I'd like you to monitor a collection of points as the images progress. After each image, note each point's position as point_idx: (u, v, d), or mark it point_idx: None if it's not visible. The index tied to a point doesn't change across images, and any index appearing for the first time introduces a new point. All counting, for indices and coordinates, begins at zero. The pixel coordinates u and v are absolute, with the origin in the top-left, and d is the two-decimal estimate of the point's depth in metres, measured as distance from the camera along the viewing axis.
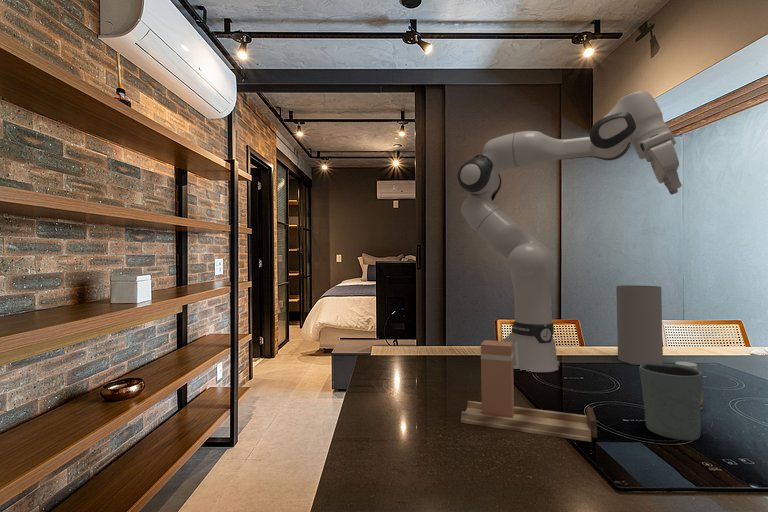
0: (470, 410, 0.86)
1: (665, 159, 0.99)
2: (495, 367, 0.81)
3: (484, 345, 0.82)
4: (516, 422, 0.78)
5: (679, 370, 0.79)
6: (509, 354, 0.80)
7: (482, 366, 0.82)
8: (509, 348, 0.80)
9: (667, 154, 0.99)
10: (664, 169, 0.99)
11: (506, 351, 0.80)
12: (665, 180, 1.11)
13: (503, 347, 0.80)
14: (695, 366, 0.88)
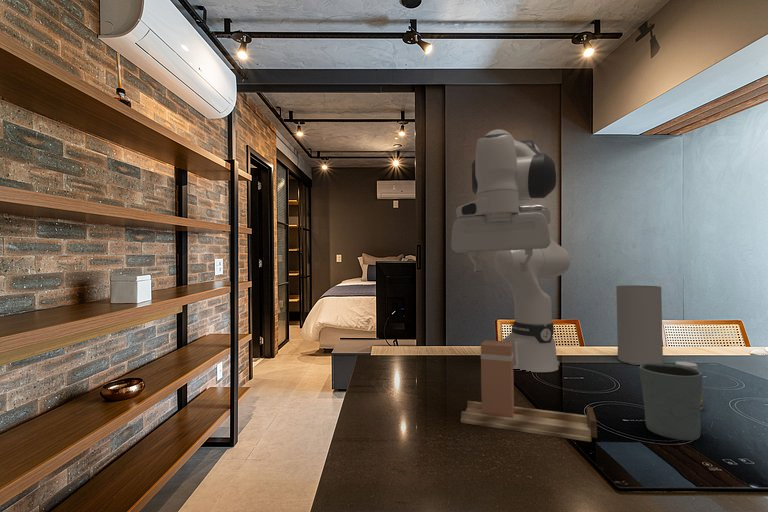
0: (470, 410, 0.86)
1: None
2: (495, 367, 0.81)
3: (484, 345, 0.82)
4: (516, 422, 0.78)
5: (679, 370, 0.79)
6: (509, 354, 0.80)
7: (482, 366, 0.82)
8: (509, 348, 0.80)
9: None
10: None
11: (506, 351, 0.80)
12: (525, 250, 0.83)
13: (503, 347, 0.80)
14: (695, 366, 0.88)
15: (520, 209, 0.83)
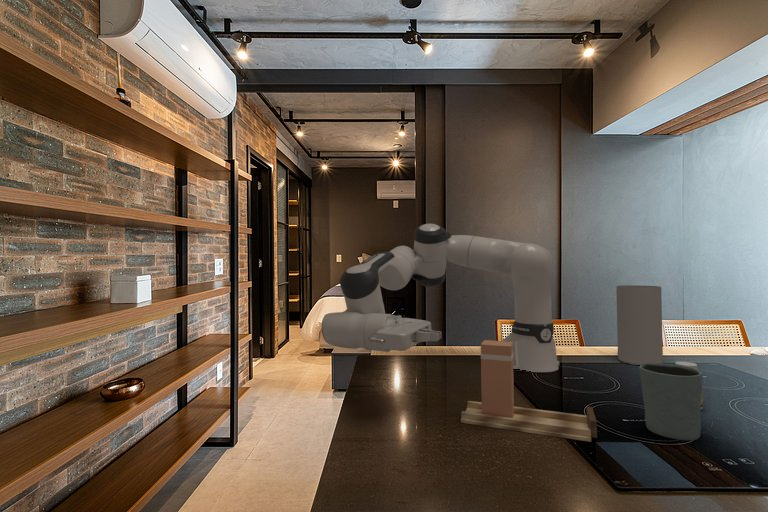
0: (470, 410, 0.86)
1: None
2: (495, 367, 0.81)
3: (484, 345, 0.82)
4: (516, 422, 0.78)
5: (679, 370, 0.79)
6: (509, 354, 0.80)
7: (482, 366, 0.82)
8: (509, 348, 0.80)
9: None
10: None
11: (506, 351, 0.80)
12: None
13: (503, 347, 0.80)
14: (695, 366, 0.88)
15: None
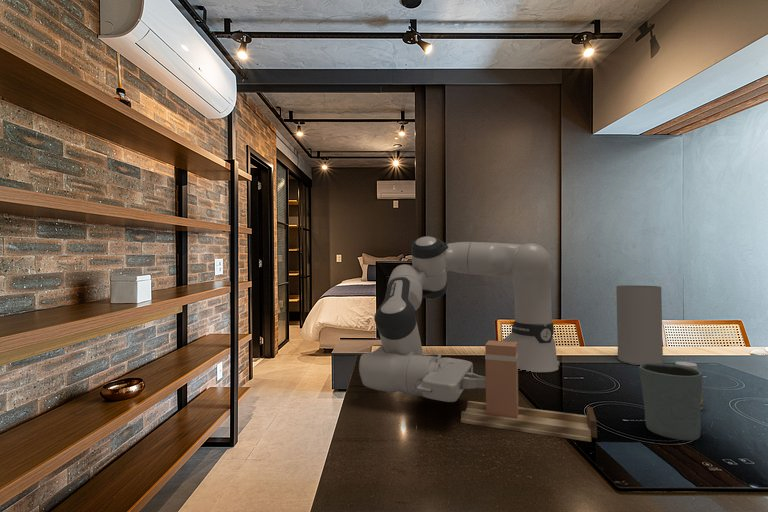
0: (470, 410, 0.86)
1: None
2: (499, 368, 0.80)
3: (488, 345, 0.81)
4: (516, 422, 0.78)
5: (679, 370, 0.79)
6: (514, 354, 0.79)
7: (486, 366, 0.81)
8: (514, 348, 0.79)
9: None
10: None
11: (511, 351, 0.80)
12: None
13: (508, 347, 0.80)
14: (695, 366, 0.88)
15: None
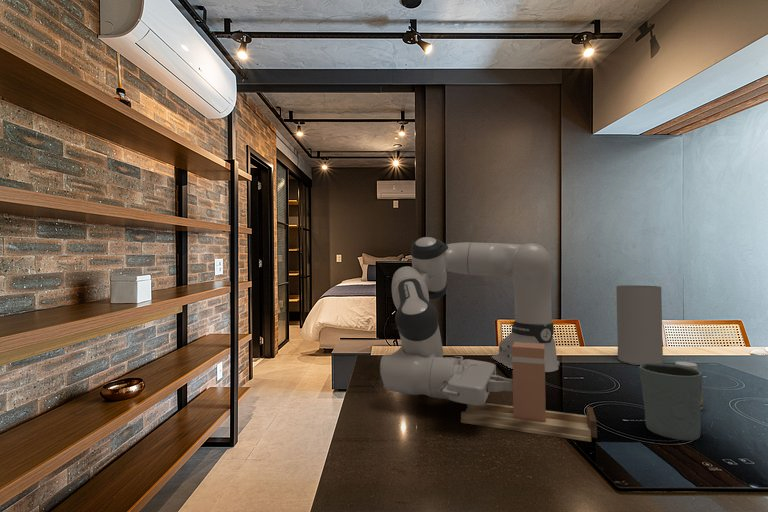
0: (470, 410, 0.86)
1: None
2: (527, 370, 0.78)
3: (516, 347, 0.79)
4: (516, 422, 0.78)
5: (679, 370, 0.79)
6: (542, 357, 0.77)
7: (514, 369, 0.79)
8: (542, 350, 0.77)
9: None
10: None
11: (539, 353, 0.77)
12: None
13: (536, 349, 0.78)
14: (695, 366, 0.88)
15: None
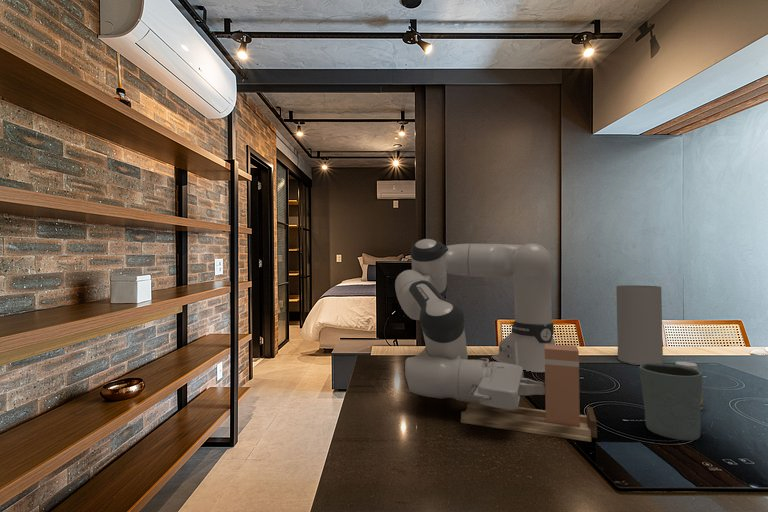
0: (470, 410, 0.86)
1: None
2: (560, 373, 0.76)
3: (548, 350, 0.77)
4: (516, 422, 0.78)
5: (679, 370, 0.79)
6: (576, 359, 0.75)
7: (546, 372, 0.77)
8: (576, 353, 0.75)
9: None
10: None
11: (573, 356, 0.75)
12: None
13: (570, 352, 0.75)
14: (695, 366, 0.88)
15: None
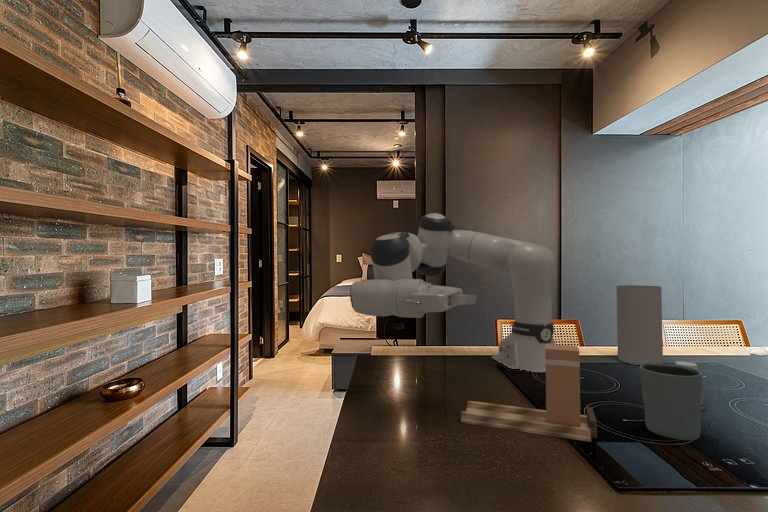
0: (470, 410, 0.86)
1: None
2: (561, 373, 0.76)
3: (549, 350, 0.77)
4: (516, 422, 0.78)
5: (679, 370, 0.79)
6: (577, 359, 0.75)
7: (547, 372, 0.77)
8: (577, 353, 0.75)
9: None
10: None
11: (574, 356, 0.75)
12: None
13: (570, 352, 0.75)
14: (695, 366, 0.88)
15: None
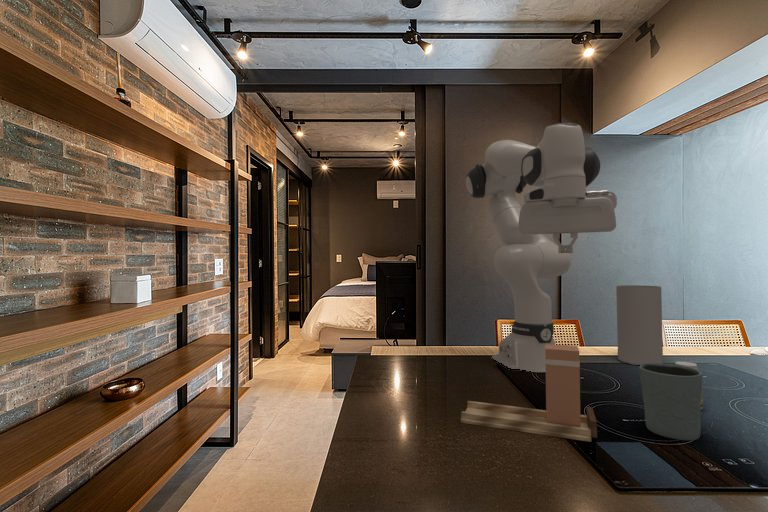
0: (470, 410, 0.86)
1: None
2: (561, 373, 0.76)
3: (549, 350, 0.77)
4: (516, 422, 0.78)
5: (679, 370, 0.79)
6: (577, 359, 0.75)
7: (547, 372, 0.77)
8: (577, 353, 0.75)
9: None
10: None
11: (574, 356, 0.75)
12: (570, 233, 0.90)
13: (570, 352, 0.75)
14: (695, 366, 0.88)
15: (586, 194, 0.88)
